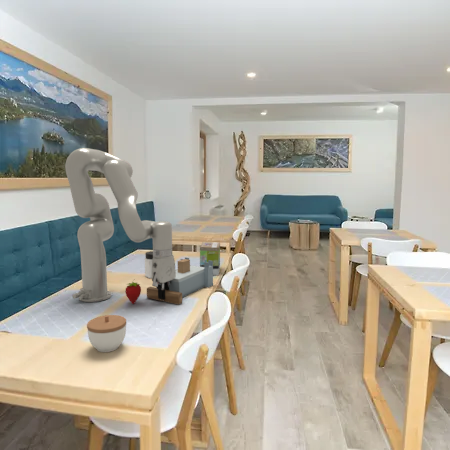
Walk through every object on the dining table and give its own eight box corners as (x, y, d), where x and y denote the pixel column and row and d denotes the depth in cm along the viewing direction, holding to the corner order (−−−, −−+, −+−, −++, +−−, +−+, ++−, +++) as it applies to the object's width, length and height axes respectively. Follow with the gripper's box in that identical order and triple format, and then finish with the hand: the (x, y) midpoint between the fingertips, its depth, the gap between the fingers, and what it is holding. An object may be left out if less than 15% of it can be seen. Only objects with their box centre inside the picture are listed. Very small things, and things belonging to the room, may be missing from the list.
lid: (178, 282, 144) (178, 267, 144) (158, 278, 149) (158, 264, 149) (207, 270, 163) (207, 256, 163) (188, 267, 168) (188, 254, 168)
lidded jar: (130, 338, 109) (129, 309, 108) (121, 356, 99) (120, 323, 97) (95, 339, 109) (93, 309, 108) (82, 356, 98) (80, 324, 97)
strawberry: (143, 300, 144) (142, 276, 142) (139, 307, 136) (138, 281, 135) (128, 300, 143) (127, 276, 142) (123, 307, 136) (122, 281, 135)
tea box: (219, 275, 180) (219, 246, 179) (199, 275, 181) (199, 246, 179) (220, 268, 195) (220, 241, 193) (201, 268, 196) (201, 241, 194)
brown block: (178, 304, 138) (178, 294, 138) (146, 297, 146) (146, 288, 146) (182, 302, 140) (182, 292, 140) (150, 295, 148) (150, 286, 148)
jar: (166, 276, 178) (165, 253, 177) (151, 279, 173) (150, 255, 172) (157, 273, 185) (156, 250, 184) (142, 275, 180) (142, 252, 179)
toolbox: (183, 300, 144) (183, 272, 143) (154, 294, 151) (153, 267, 150) (213, 285, 164) (212, 260, 163) (185, 280, 171) (185, 257, 170)
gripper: (157, 257, 132) (158, 305, 135) (182, 250, 146) (183, 293, 148) (141, 255, 136) (143, 302, 138) (167, 248, 150) (168, 291, 152)
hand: (163, 297), depth 143 cm, fingers closed on brown block, 2 cm apart
